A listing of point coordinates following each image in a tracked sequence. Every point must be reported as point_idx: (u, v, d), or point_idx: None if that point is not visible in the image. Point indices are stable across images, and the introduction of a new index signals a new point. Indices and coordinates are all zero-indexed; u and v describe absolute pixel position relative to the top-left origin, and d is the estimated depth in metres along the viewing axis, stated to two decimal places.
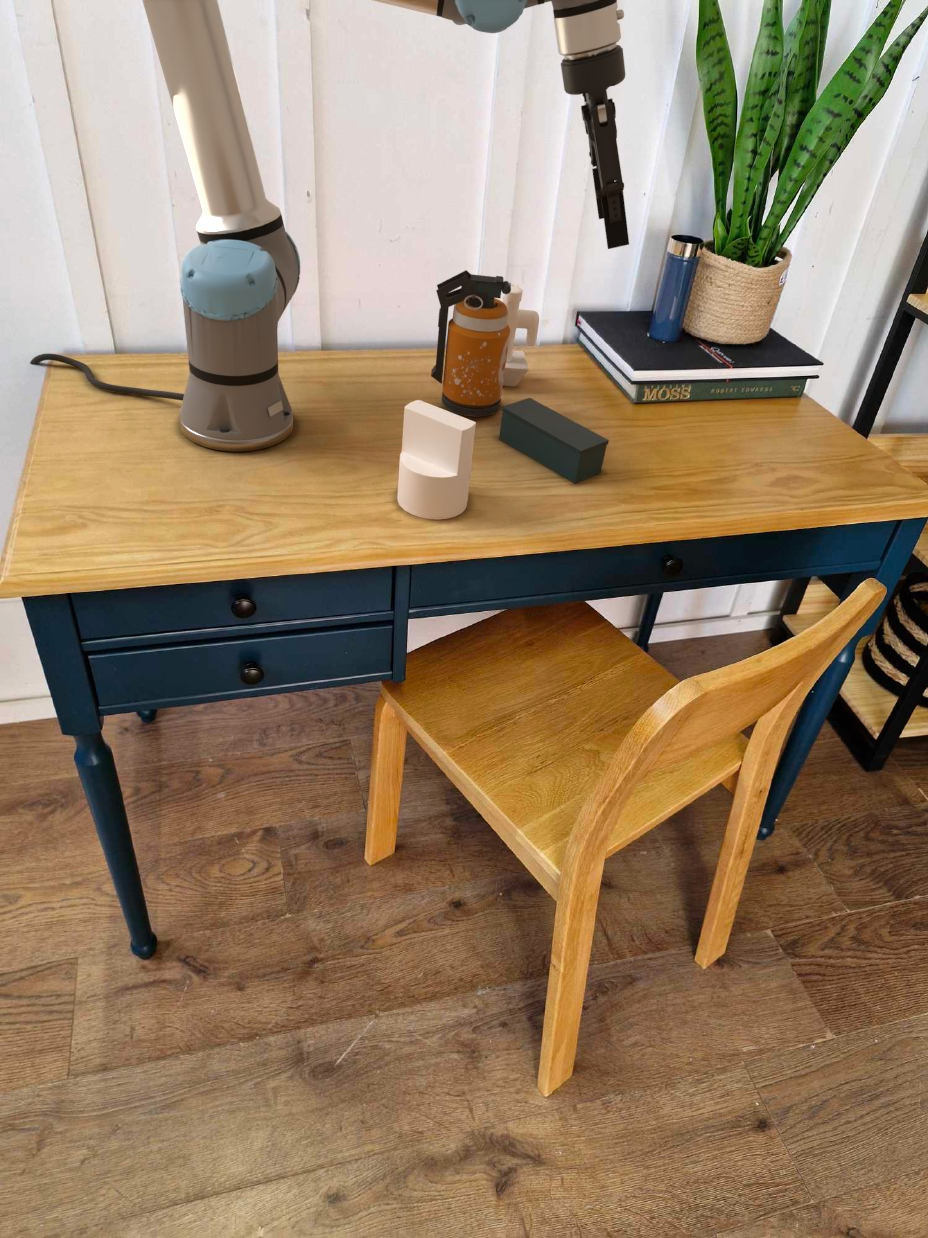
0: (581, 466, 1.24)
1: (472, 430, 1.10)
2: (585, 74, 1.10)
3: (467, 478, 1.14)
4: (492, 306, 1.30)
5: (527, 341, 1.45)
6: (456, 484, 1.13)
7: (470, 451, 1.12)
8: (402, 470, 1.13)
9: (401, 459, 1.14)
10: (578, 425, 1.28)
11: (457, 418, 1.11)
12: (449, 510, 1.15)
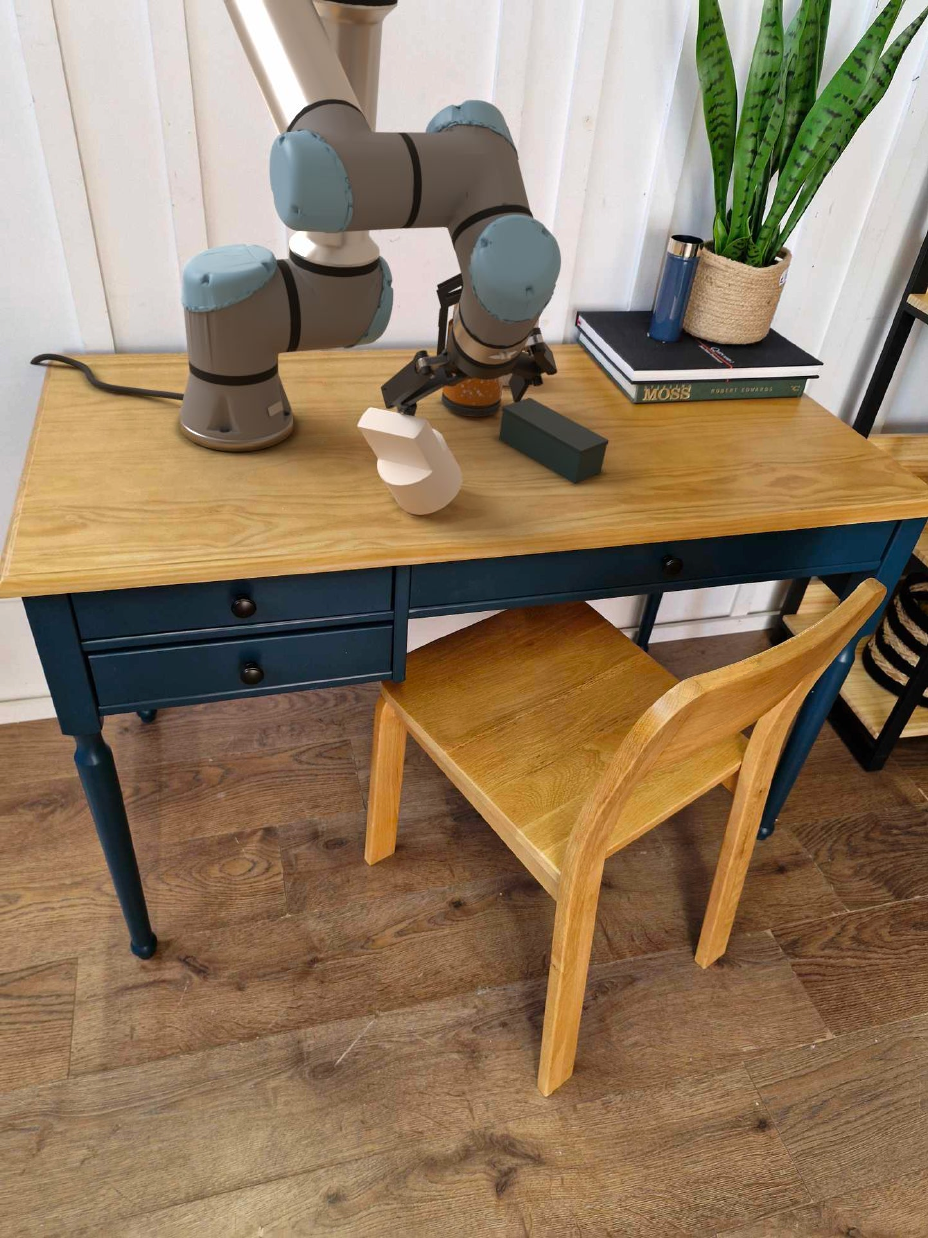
0: (581, 466, 1.24)
1: (425, 428, 1.05)
2: (450, 333, 0.93)
3: (446, 464, 1.11)
4: None
5: None
6: (437, 477, 1.10)
7: (435, 444, 1.08)
8: (383, 480, 1.13)
9: (378, 470, 1.12)
10: (578, 425, 1.28)
11: (408, 420, 1.06)
12: (443, 499, 1.13)
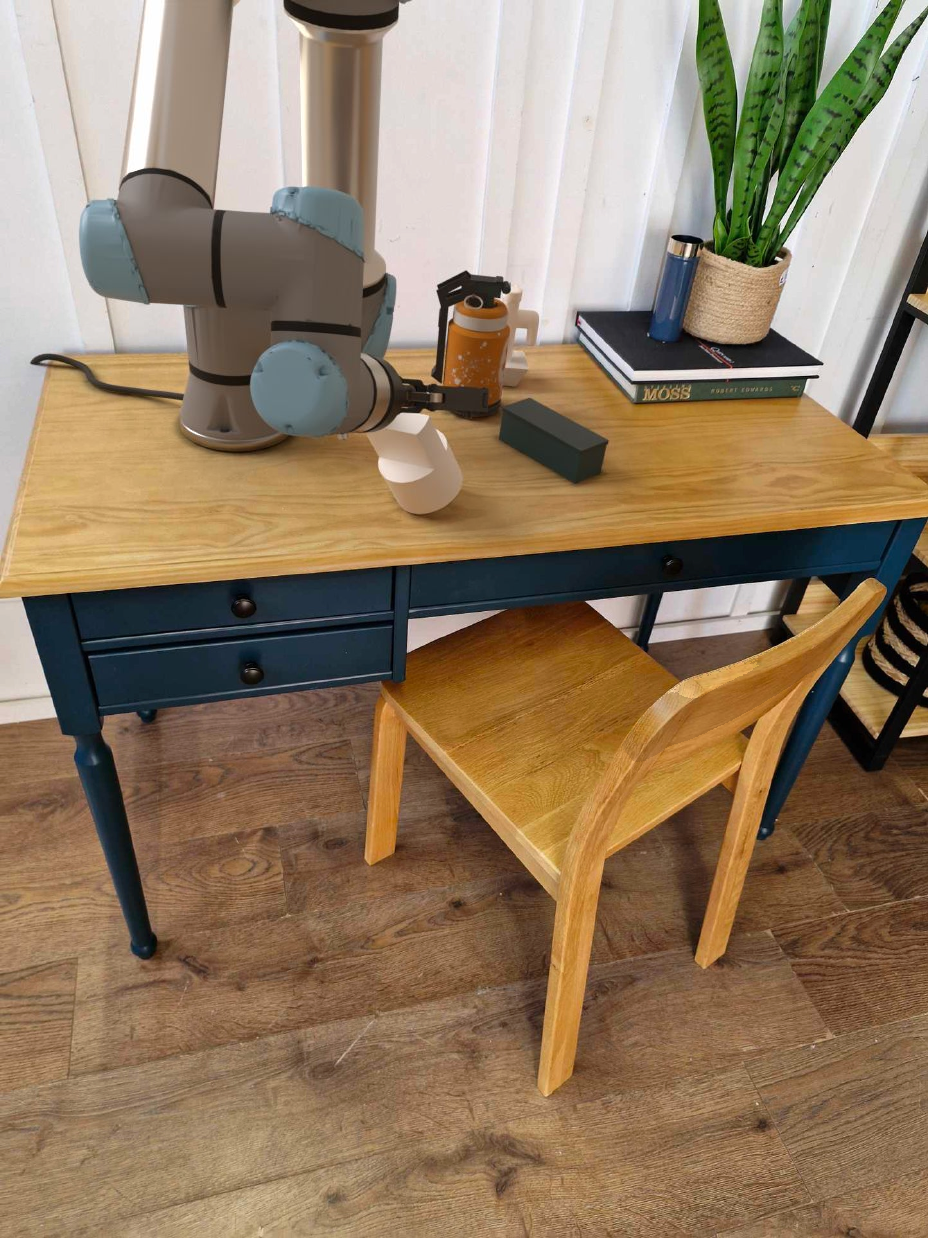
0: (581, 466, 1.24)
1: (428, 425, 1.06)
2: None
3: (448, 463, 1.11)
4: (492, 306, 1.30)
5: (527, 341, 1.45)
6: (438, 476, 1.10)
7: (437, 442, 1.08)
8: (384, 479, 1.13)
9: (380, 468, 1.13)
10: (578, 425, 1.28)
11: (411, 417, 1.07)
12: (443, 498, 1.13)
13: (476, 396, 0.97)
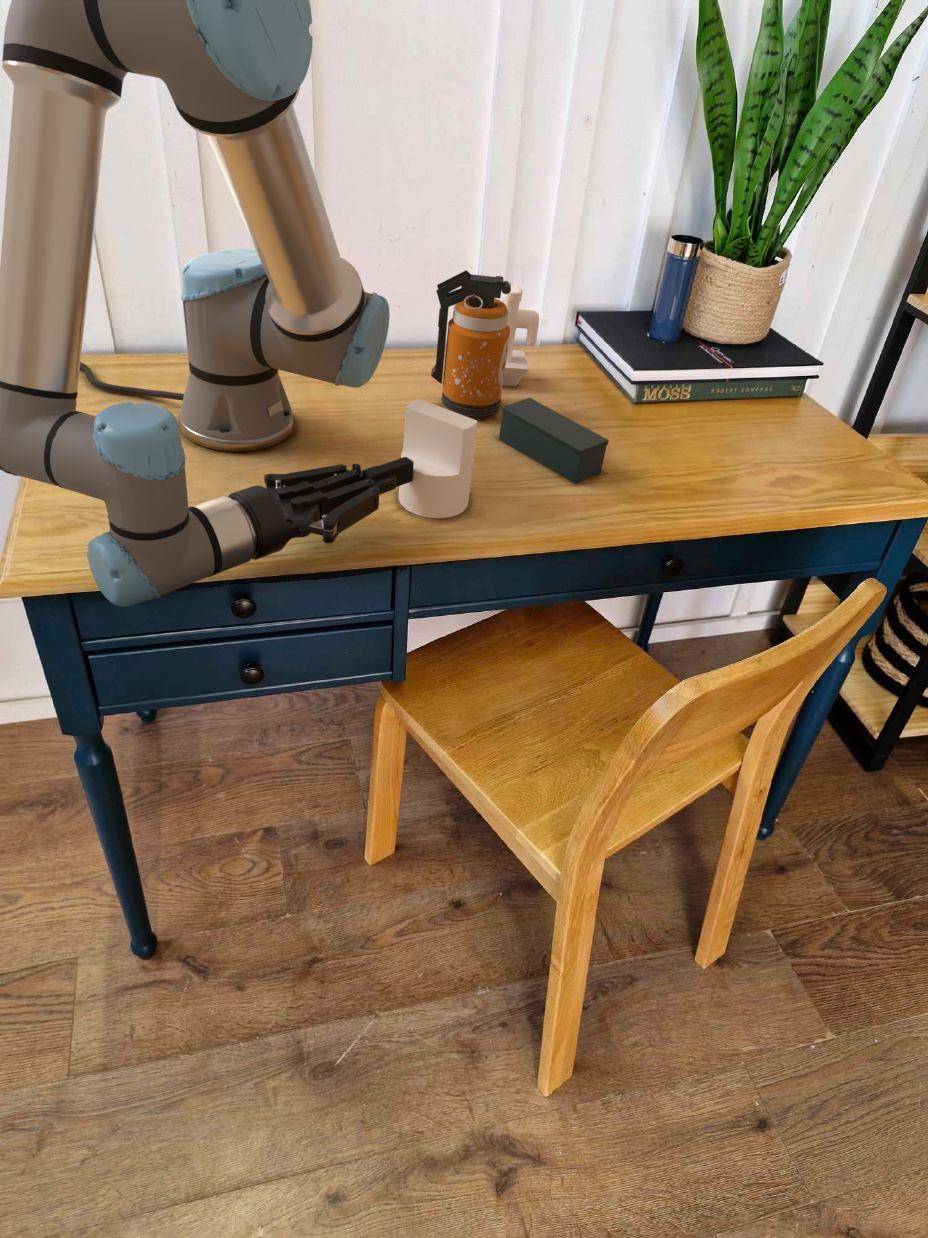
0: (581, 466, 1.24)
1: (474, 428, 1.10)
2: None
3: (469, 476, 1.15)
4: (492, 306, 1.30)
5: (527, 341, 1.45)
6: (458, 483, 1.13)
7: (472, 450, 1.12)
8: None
9: None
10: (578, 425, 1.28)
11: (458, 417, 1.11)
12: (451, 508, 1.15)
13: (368, 503, 1.04)
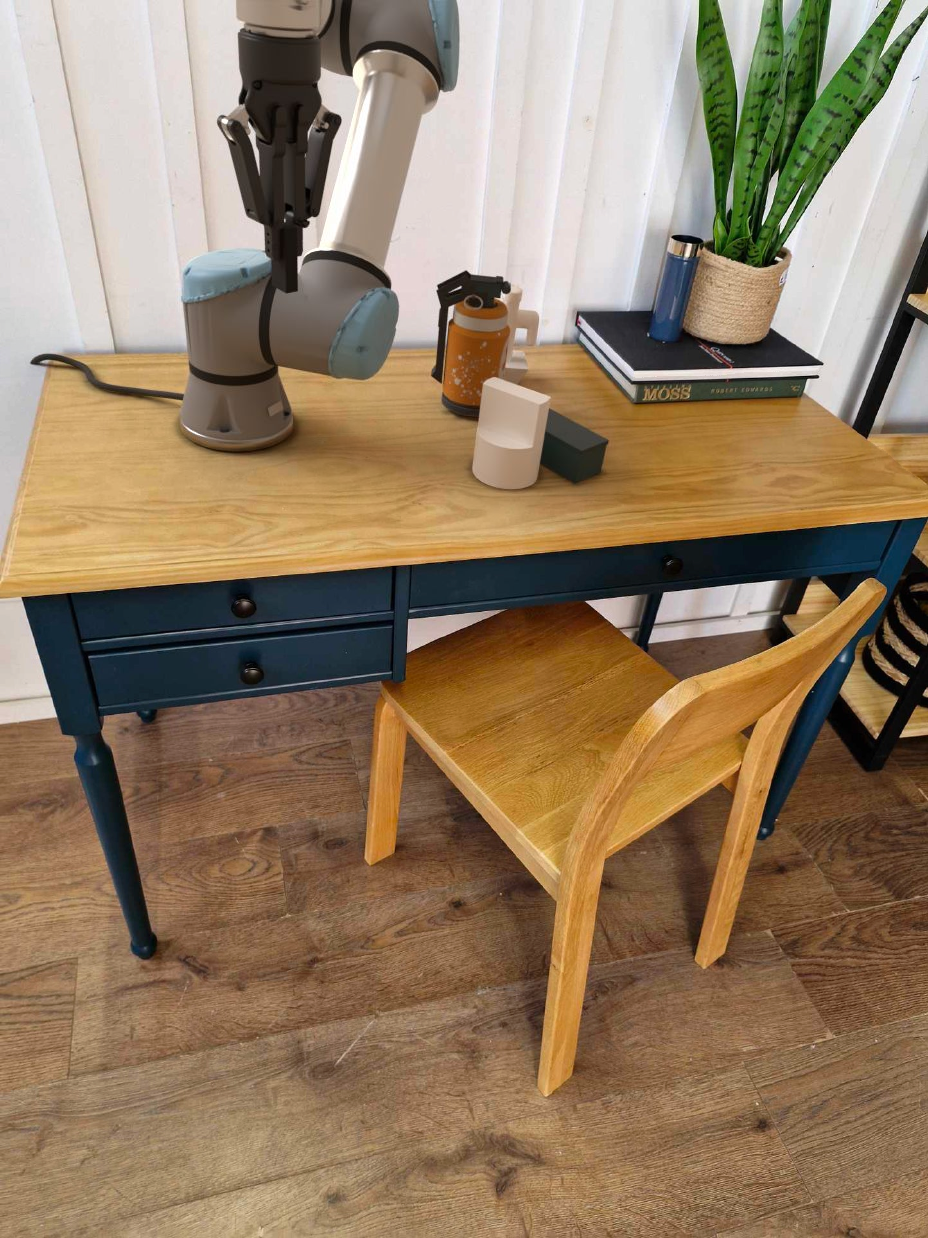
0: (581, 466, 1.24)
1: (548, 404, 1.18)
2: (239, 50, 0.84)
3: (540, 450, 1.22)
4: (492, 306, 1.30)
5: (527, 341, 1.45)
6: (531, 455, 1.21)
7: (544, 424, 1.20)
8: (479, 442, 1.21)
9: (479, 433, 1.21)
10: (578, 425, 1.28)
11: (533, 393, 1.18)
12: (523, 480, 1.22)
13: None
